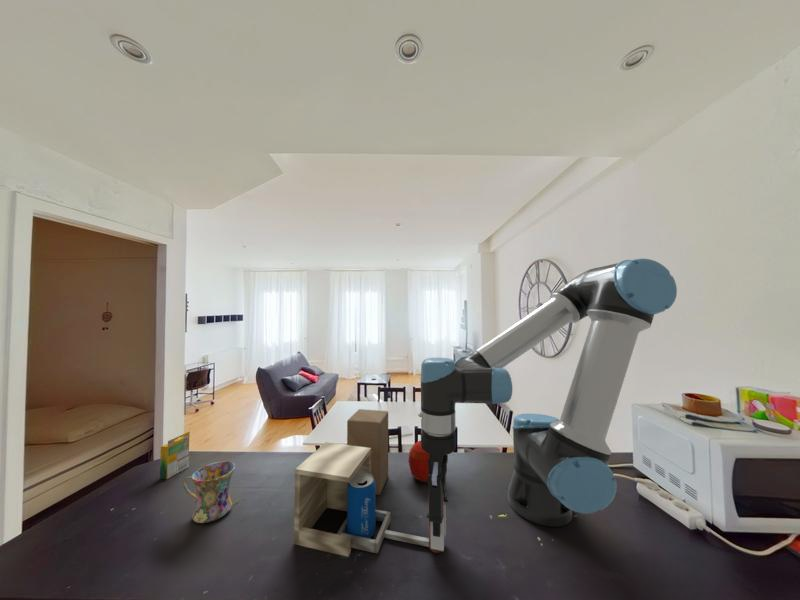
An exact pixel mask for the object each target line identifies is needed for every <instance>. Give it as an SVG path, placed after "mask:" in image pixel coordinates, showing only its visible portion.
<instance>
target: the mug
mask: <svg viewBox="0 0 800 600" xmlns="http://www.w3.org/2000/svg"><path fill="white" fill-rule="evenodd" d="M235 469H236V464H235V463H234V462H232V461H228V460H227V461H226V460H222V461H217V462H211V463H209V464H206V465H204V466H202V467H200V468H198V469H197V470H196V471H194V473H193V474H192V475H191V476H187V477H185V479H184V480H183V482H182V485H183V489H184V490H185V492H186V493H187V495H189V496H190V497H191V498H193V499H195V500H196V501H195V502H194V503H195V504H196V506H195V508H194V511H193V513H192V515H191V518H192V520H193V521H194V523H198V524H205V523H206V524H207V523H211V522H214V521H216V520H219V519H221V518H222V517H224V516H225V515H226V514H228V513H229V512H230V510H231V509H232V508H233V500H232V499H231V497H230V483H231V479H232V477H233V474H234V471H235ZM190 479H191V481H192V482H193V484H194V486H195V490H196V494H197V495H196V494H195V493H193V492H192V491H191V490H190V489H189V488H188V486H187V480H190Z"/></svg>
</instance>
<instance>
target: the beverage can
mask: <svg viewBox="0 0 800 600" xmlns="http://www.w3.org/2000/svg"><path fill="white" fill-rule="evenodd" d="M375 509H376V495H375V481H374V479H373V476H372V475H371V474H368V473H357V474H355V475H354V476H353V478H352V479H351V480H350V482H349V483H348V486H347V511H346V512H347V513H346V518H347V533H346V534H350V535H355V536H359V537H364V538H369V539H371V538H372V537H373V536H374V534H375V532H376V520H375Z"/></svg>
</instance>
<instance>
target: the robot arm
mask: <svg viewBox="0 0 800 600" xmlns="http://www.w3.org/2000/svg"><path fill="white" fill-rule="evenodd" d="M677 289H678V288H677V282H676V280H675V278H674V276H672V274H671V273H670V270H669V269H668V268H667V267H666V266H664V265H663V264H661V263H660V262H658V261H656V260H653V259H650V258H635V259H624V260H622V261H620V262H617V263H612V264H608V265H603V266H599V267H594V268H591V269H588V270H585V271H584V272H582V273H580V274H578V275H577V276H575V277H574V278H571V280H570V281H568V282H567V283H565V284H564V285H562V286H561V287H560V288H558V289H557V290H555V291H554V292H552V293H551V294H550V296H549V300H548V301H546V302H545V303H543V304H541V306H539V307H537V308H536V309H535V310H533V311H531V312H530V313H528V314H527V315H525V316H524V317H523V318H521V319H520V320H519V321H517V322H516V323H514V324H512V325H511V326H509V327H508V328H507V329H505V330H504V331H503V332H502V333H500V334H498V335H497V336H495V337H494V338H492V339H490V340H489V341H487V342H486V343H485V344H483V345H481V346H480V347H479V348H478V349H476V350H474V351H473V352H471V353H470V354H469V355H467V356H460V357H458V358H456V359H455V361H454V359H452V358H449V357H430V358H429V357H428V358H425V359H423V361H422V362H421V369H420V371H421V372H420V410H421V411H420V412H419V413H418V414H417V415H418V417H419V418H420V419H421V420H420V428H421V430H420V441H421V447H422V449H423V450H424V451H425V452H427V453H429V454H430V458H428V468H429V475H428V482H427V483H428V512H427V513H426V518H428V522H429V521H430V522H431V549H435V550H440V551H442V552H444V551H445V537H446V535H447V532H446V531H447V528H446V527H447V524H446V522H447V521H446V516H447V515H446V514H447V513H446V512H447V511H446V503H448V504H449V501H450V499H449V497H448V496H446V494H447V472H448V461H449V455H451V454H453V452H454V451H455V450H456V432H455V430H456V404H493V405H495V404H504V403H505V404H506V403H508V402H510V400H511V399H512V395H513V381H512V377H511V375H510V373H509V371H508V370H507V369H506V368H505V367H506V366H508V365H509V364H510V363H512V362H514V361H515V360H516V359H518V358H519V357H521V356H522V355H524V354H525V353H527V352H528V351H529V350H531V349H533V348H534V347H536V346H537V345H538V344H540V343H541V342H543V341H544V340H546V339H547V338H548V337H550V336H552V335H553V334H554V333H556V332H558V331H559V330H560V329H562V328H563V327H565V326H566V325H568V324H569V323H573V324H576V323H577V322H580V321H581V320H582V319H585V318H586V317H588V318H589V319H590V321H591V322H590V326H589V328H588V332H587V335H586V338H585V340H584V344H583V348H582V350H581V353H580V356H579V359H578V363H577V366H576V369H575V372H574V376H573V378H572V381H571V384H570V386H569V390H568V394H567V396H566V398H565V399H566V400H565V403H564V406H563V409H562V412H561V415H560V418H557V417H555V416H552V415H549V414H542V413H519V414H516V415H515V416H514V418H513V421H512V422H513V425H512V432H513V433H512V437H513V440H512V441H513V469H514V470H513V472H512V476H511V479H510V482H509V483H508V484H509V485H508V488H507V501H508V504H509V506H510V507H511V508H512V509H513V511H514V512H515V513H517V514H518V515H519V516H521V517H522V518H524V519H526V520H528V522H532V523H534V524H537V525H539V526H544V527H551V528H552V527H553V528H554V527H555V528H556V527H563V526H566V525H568V524H569V523H570V522H571V521H572V519H573V512H576V513H580V514H587V515H588V514H594V513H595V512H597V511H602V510H604V509H605V508H607V507H608V506H609V505H611V503H612V501H613V500H614V499H615V496H616V494H617V490H618V489H617V488H618V486H617V485H618V483H617V480H616V477H615V475H614V473H613V471H612V469H611V468H610V467H609V465H608V464H609V461H610V458H611V454H612V450H611V449H610V447H609V446H608V445H609V444H607V441H606V438H607V435H608V431H609V429H610V425H611V422H612V419H613V416H614V413H615V409H616V407H617V404H618V400H619V397H620V393H621V391H622V388H623V384H624V381H625V378H626V374H627V372H628V368H629V365H630V362H631V358H632V355H633V353H634V349H635V346H636V344H637V343H636V342H637V339H638V336H639V334H640V333H641V332H643V331H644V330H648V329H650V328H651V327H652V323H653V320H654V317H655V315H657V314H660V313H662V312H663V313H664V312H665V311H666V310H669V309H670V308H671V307H672V306H673V304H674V303H675V301H676V298H677V293H678V290H677ZM443 506H444V516H443Z"/></svg>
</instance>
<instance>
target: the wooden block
mask: <svg viewBox="0 0 800 600" xmlns="http://www.w3.org/2000/svg"><path fill="white" fill-rule="evenodd" d="M346 423H347V425H346V427H347V429H346V431H347V433H346V442H347V443H346V445H351V446H359V447H367V448H371V475H372V476H373V479H374V481H375V496H380V495H381V493H382V491H383V489H384V486H385V484H386V481H387V480H388V477H389V411H388V410H379V409H378V410H376V409H360V408H359V409H357V411H355V413H353V414H352V415H351V416H350V417H349V418H348V419H347V422H346Z"/></svg>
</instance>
